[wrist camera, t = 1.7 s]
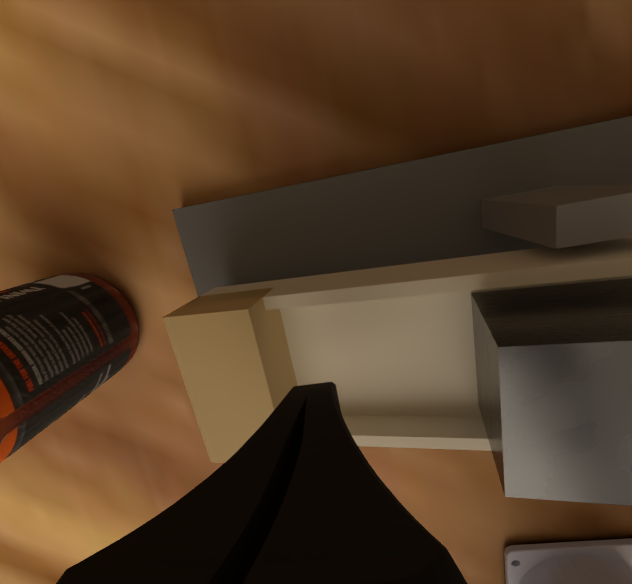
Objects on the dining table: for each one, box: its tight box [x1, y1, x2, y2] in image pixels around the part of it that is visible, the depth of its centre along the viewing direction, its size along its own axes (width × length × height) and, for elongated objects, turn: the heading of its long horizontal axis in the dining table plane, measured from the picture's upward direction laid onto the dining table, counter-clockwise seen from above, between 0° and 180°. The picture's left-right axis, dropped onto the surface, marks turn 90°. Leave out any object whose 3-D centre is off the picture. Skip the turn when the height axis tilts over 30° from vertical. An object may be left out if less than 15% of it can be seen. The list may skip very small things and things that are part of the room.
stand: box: [172, 116, 632, 297], centre depth 13 cm, size 14×30×6 cm, turn 101°
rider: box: [471, 278, 632, 506], centre depth 10 cm, size 4×5×4 cm
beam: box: [163, 237, 632, 463], centre depth 11 cm, size 7×28×4 cm, turn 101°
